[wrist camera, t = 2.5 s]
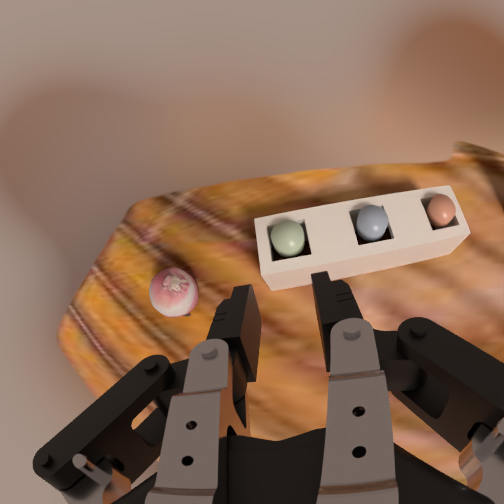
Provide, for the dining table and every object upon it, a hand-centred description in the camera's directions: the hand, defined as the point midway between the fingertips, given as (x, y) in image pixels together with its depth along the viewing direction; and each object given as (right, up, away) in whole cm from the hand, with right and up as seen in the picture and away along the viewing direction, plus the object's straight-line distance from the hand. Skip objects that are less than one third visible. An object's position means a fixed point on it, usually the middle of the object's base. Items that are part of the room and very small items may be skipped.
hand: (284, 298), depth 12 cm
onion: (-13, -5, +32) cm, 35 cm away
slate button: (+14, +5, +22) cm, 27 cm away
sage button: (+3, +3, +24) cm, 24 cm away
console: (+16, +3, +28) cm, 32 cm away
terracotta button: (+25, +7, +20) cm, 33 cm away
